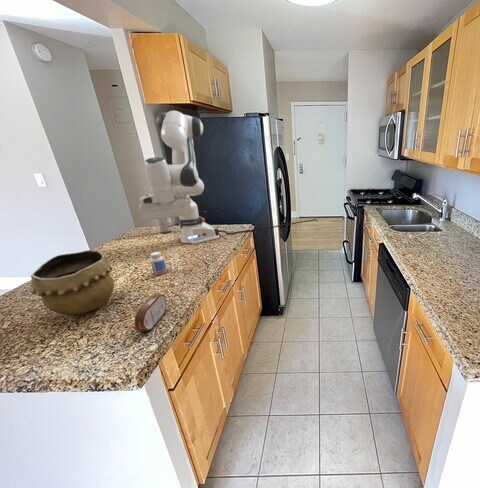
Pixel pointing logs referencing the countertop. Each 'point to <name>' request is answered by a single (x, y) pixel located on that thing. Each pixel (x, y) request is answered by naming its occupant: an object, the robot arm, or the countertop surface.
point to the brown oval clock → (150, 312)
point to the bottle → (164, 225)
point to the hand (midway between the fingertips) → (170, 226)
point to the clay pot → (74, 282)
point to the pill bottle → (158, 263)
